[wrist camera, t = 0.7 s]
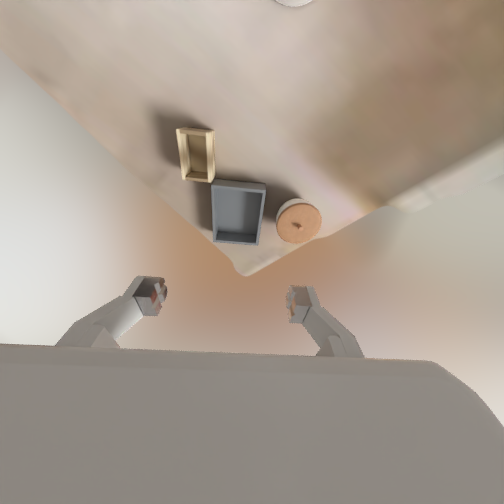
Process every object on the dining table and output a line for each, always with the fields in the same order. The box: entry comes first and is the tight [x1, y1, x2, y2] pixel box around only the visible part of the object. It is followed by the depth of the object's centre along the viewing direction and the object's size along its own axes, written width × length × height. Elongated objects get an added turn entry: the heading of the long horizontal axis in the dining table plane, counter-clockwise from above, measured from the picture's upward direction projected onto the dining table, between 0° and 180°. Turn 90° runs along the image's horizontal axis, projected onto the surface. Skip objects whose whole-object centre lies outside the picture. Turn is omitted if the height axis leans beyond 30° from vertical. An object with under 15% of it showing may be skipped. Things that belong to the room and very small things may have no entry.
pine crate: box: [176, 127, 215, 183], centre depth 38 cm, size 9×6×6 cm, turn 174°
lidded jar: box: [276, 199, 322, 244], centre depth 46 cm, size 11×11×9 cm
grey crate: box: [211, 179, 266, 246], centre depth 47 cm, size 15×12×5 cm
